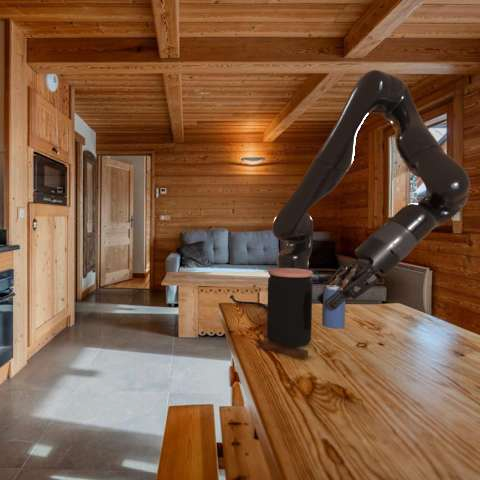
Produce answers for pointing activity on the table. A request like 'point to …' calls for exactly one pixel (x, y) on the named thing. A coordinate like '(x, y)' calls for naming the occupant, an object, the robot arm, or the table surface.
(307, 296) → the coffee jar
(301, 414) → the table surface
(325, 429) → the table surface
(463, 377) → the table surface
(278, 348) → the walnut stick
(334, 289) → the salt shaker
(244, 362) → the table surface
